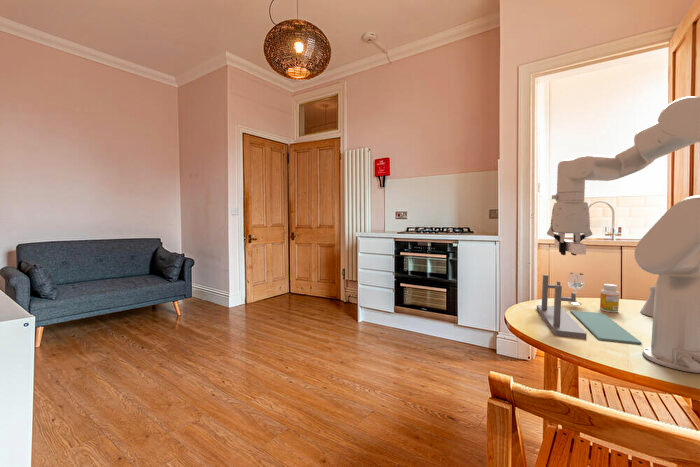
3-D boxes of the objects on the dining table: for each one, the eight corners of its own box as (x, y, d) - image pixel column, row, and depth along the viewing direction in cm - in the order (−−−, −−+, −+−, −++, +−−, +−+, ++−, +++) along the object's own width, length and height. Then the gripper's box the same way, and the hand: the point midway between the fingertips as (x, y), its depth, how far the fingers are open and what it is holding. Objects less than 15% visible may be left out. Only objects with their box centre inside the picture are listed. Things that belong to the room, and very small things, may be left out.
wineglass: (584, 303, 133) (586, 273, 133) (582, 306, 129) (584, 275, 128) (568, 300, 137) (569, 271, 137) (565, 303, 133) (566, 273, 132)
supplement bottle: (599, 307, 127) (601, 282, 127) (617, 310, 124) (619, 284, 124) (600, 311, 123) (601, 285, 122) (618, 313, 120) (620, 287, 119)
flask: (673, 319, 114) (675, 290, 113) (649, 317, 116) (650, 289, 115) (658, 312, 121) (660, 285, 121) (635, 311, 123) (637, 284, 122)
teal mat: (641, 344, 92) (641, 342, 92) (598, 339, 96) (598, 337, 95) (603, 314, 118) (603, 313, 118) (570, 311, 122) (570, 310, 122)
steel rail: (585, 254, 97) (586, 244, 97) (576, 254, 98) (576, 244, 97) (562, 247, 120) (562, 238, 119) (554, 246, 120) (554, 238, 120)
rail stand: (586, 338, 97) (588, 291, 96) (554, 335, 99) (556, 288, 98) (561, 311, 123) (562, 273, 122) (536, 308, 126) (538, 272, 125)
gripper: (544, 198, 107) (543, 255, 108) (604, 197, 101) (602, 257, 103) (539, 199, 114) (538, 252, 115) (595, 198, 109) (593, 254, 110)
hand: (568, 254), depth 109 cm, fingers closed on steel rail, 2 cm apart
